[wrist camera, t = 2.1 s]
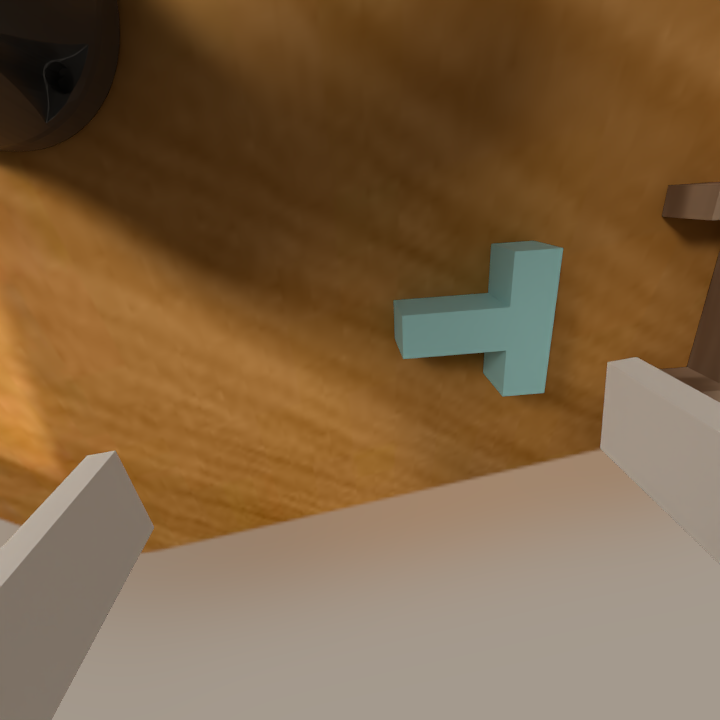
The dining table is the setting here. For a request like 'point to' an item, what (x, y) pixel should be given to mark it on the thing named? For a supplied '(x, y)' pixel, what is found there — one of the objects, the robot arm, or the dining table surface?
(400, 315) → the t block
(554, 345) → the dining table surface
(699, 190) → the bracket
